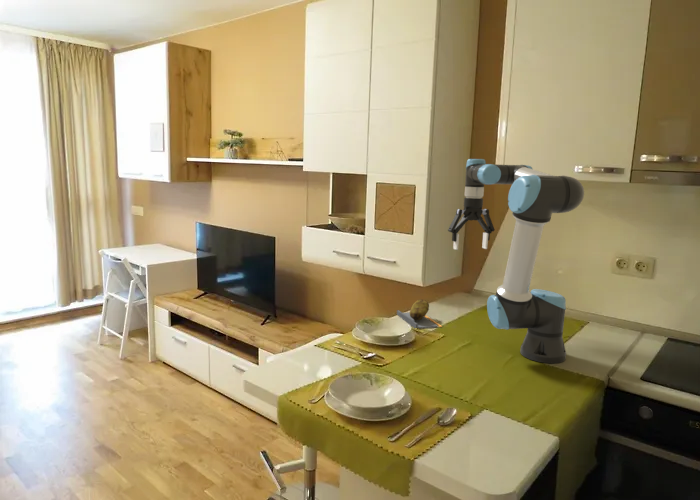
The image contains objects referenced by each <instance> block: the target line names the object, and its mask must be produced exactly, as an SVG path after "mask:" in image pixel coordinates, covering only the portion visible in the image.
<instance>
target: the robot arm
mask: <svg viewBox="0 0 700 500" xmlns="http://www.w3.org/2000/svg"><path fill="white" fill-rule="evenodd" d="M485 185H511V186H510V189H509V190H508V196H507V201H508V202H507V205H508V208H509V210H510V211H511V212H512V217H513V218H514V219H515V223H514V229H513V232H512V234H513V235H512V237H511V243H510V247H509V253H508V257H507V258H508V259H507V262H506V267H505V272H504V276H503V281H502V284H501V285H498V287H497V288H496V292H495V294H491V295H489V296H488V298H487V302H486V309H487V316H488V318H489V321H490V322H491V324H492V326H493V327H494V328H496V329H498V330H507V331H508V330H519V329H526V330H527V331H526V334H525V337H524V339H523V342H522V343H521V346H520V351H519V352H520V354H521V356H523V357H524V358H526V359H528V360H531V361H534V362H538V363H543V364H557V363H559V364H560V363H563V362H565V361H566V358H567V351H566V345H565V342H564V338H563V332H564V324H565V314H566V310H567V309H566V304H567V303H566V300H567V299H566V298H565V296H563V295H562V294H561V293H557V292H554V291H550V290H545V289H540V288H533V289H531V290H530V285H531V282H532V279H533V274H534V269H535V265H536V260H537V257H538V253H539V248H540V243H541V239H542V236H543V235H542V234H543V232H544V231H543V230H544V227H545V225H546V224H549V223H550V221H551V220H552V219H551V218H552V215H553V214H564V213H565V214H566V213H568V212H571V211H574V210H575V209H577V208H578V207H579V206H580V205H581V204H582V202H583V199H584V196H585V189H584V186H583V183H581V181H580V180H578V179H577V178H575V177H572V176H568V175H553V174H550V173H546V172H543V171H539V170H537V169H534V168H533V167H532V165H526V164H492V163H486V159H484V158H468V159H467V160H466V166H465V181H464V198H463V209H460V208H456V212H455V215H454V217H453V219H452V221H451V223H450V225H449V227H448V229H447V231H448V232H449V233H451V234H452V235H451V236H452V237H451V241H452V242H453V246H452V249H453V250H456V251H459V241H460V240H459V239H460V234H459V231H460V230H461V229H462V228H464V226H465V225H466V223H467V222H469V221H477V222H478V223H479V225H480V226H481V228H482V229H483V231H484V232H482V242H481V244H482V246H481V248H482V249H484V250H488V244H489V243H488V242H489V241H490V236H491V235H490V234H492V232H494V231H495V228H494V225H493V222H492V219H491V216H490V210H489V209H488V208H483V207H484V205H483V204H484V199H483V197H484V193H485ZM462 215H463V216H462ZM482 215H483V216H482ZM483 217H484V218H483ZM460 219H461V220H460ZM484 220H485V221H484Z"/></svg>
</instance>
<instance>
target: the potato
mask: <svg viewBox="0 0 700 500" xmlns="http://www.w3.org/2000/svg"><path fill="white" fill-rule="evenodd" d="M429 308H430V304H429V303H428V302H427V301H426V300H424V299H420V298H419V299H417V300H416V301H415V302H414V303H413V304H412V306H411V308H410V311H409V312H410V317H411V318H412V319H414V320H421V319H422V318H423V317H424V316H425V315H426V316H427V313H428V312H429V310H430V309H429Z"/></svg>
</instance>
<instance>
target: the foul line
mask: <svg viewBox="0 0 700 500" xmlns="http://www.w3.org/2000/svg"><path fill="white" fill-rule="evenodd" d="M424 317H426V318H427V319H428V320H430V321H431V322H433V323H434V324H436V325H437V326H438V327H439V328H442V327H443V326H442V325H441V324H440V323H438V322H436V321H435V320H434V319H432V318H431V317H429V316H428V315H427V314H426V315H425V316H424Z"/></svg>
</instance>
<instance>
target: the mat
mask: <svg viewBox="0 0 700 500" xmlns="http://www.w3.org/2000/svg"><path fill="white" fill-rule="evenodd" d="M396 315H397V316H398V317H400V318H401V319H402V320H404V321H405V322H406V323H408V325H410V326H411V327H413V329H415V328H419V330H420V329H433V328H438V327H439V326H438V325H436V324H435V323H433V322H432V321H430V320H429V319H427V318H426V317H423V318H422V319H421V320H414V319H412V318H411V317H410V311H408V312H402V311H400V309H399V310H398V309H397V310H396Z"/></svg>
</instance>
